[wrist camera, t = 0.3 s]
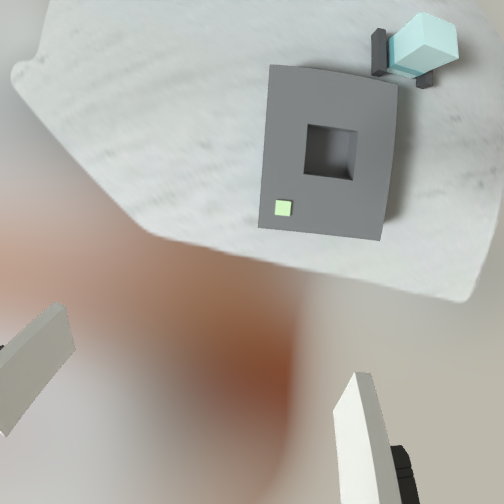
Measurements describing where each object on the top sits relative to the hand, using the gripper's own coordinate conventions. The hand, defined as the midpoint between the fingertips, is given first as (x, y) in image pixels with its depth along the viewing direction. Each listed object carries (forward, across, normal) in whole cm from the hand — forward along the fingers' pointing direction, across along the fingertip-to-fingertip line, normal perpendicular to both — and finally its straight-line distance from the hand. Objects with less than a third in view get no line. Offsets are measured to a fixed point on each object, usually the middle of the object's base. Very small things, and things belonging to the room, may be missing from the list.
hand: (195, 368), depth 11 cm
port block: (+27, +7, +9) cm, 29 cm away
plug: (+27, +15, +24) cm, 39 cm away
